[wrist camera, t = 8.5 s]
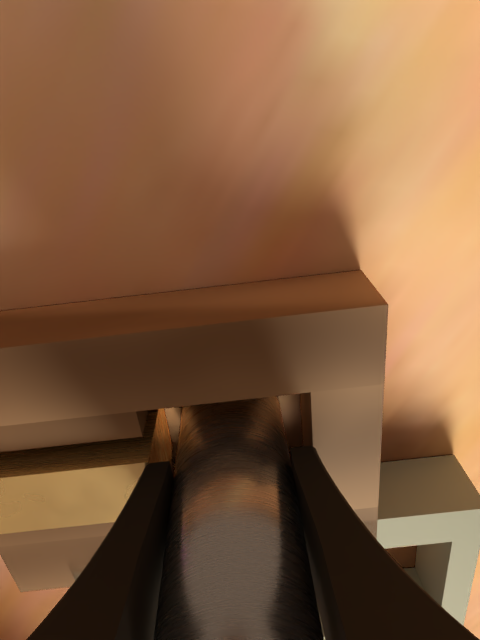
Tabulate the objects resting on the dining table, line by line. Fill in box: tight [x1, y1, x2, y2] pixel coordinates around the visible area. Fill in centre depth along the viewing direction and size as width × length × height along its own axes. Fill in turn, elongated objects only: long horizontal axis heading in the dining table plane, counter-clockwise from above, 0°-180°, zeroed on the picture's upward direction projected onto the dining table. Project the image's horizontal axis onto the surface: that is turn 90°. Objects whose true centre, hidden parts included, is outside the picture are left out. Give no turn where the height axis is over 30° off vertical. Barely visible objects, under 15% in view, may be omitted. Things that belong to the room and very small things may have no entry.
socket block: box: [0, 270, 388, 592], centre depth 14 cm, size 10×12×2 cm
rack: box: [68, 455, 480, 640], centre depth 17 cm, size 8×14×4 cm, turn 96°
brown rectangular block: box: [0, 408, 173, 534], centre depth 14 cm, size 2×7×3 cm, turn 96°
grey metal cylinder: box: [154, 396, 324, 640], centre depth 12 cm, size 3×3×8 cm
